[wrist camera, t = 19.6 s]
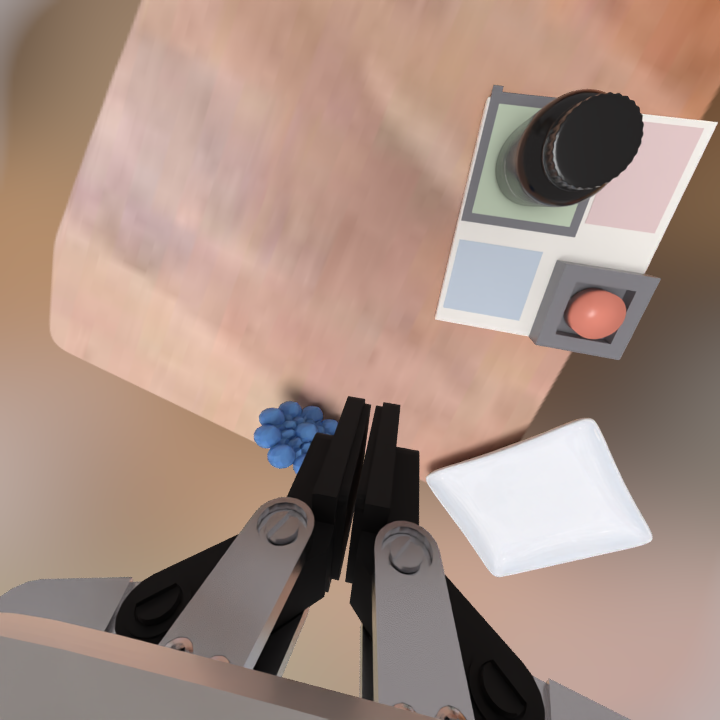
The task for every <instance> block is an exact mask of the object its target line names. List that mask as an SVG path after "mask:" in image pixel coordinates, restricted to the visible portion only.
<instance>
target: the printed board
mask: <svg viewBox="0 0 720 720" xmlns="http://www.w3.org/2000/svg"><path fill="white" fill-rule="evenodd" d="M503 87H504V86H498V85H494V86H493V90H492V94H491V97H488V99H487V100H486V102H485V107H484V111H483V115H482V119H481V123H480V128H479V132H478V136H477V140H476V145H475V149H474V153H473V157H472V161H471V166H470V170H469V174H468V178H467V182H466V187H465V191H464V195H463V199H462V204H461V208H460V212H459V216H458V220H457V225H456V229H455V233H454V237H453V241H452V246H451V250H450V254H449V258H448V263H447V267H446V271H445V275H444V279H443V284H442V288H441V292H440V296H439V300H438V305H437V309H436V313H435V319H436V320H441V321H447V322H452V323H458V324H463V325H469V326H474V327H480V328H485V329H491V330H496V331H502V332H507V333H513V334H518V335H524V336H529V334H530V331H531V329H532V326H533V323H534V320H535V318H536V315H537V312H538V310H539V307H540V304H541V301H542V299H543V296H544V293H545V291H546V288H547V285H548V283H549V280H550V277H551V274H552V272H553V269H554V266H555V264H556V261H557V260H560V261H567V262H573V263H580V264H586V265H592V266H599V267H605V268H611V269H618V270H624V271H630V272H637V273H643V274H645V271H646V270H647V267H648V265H649V263H650V261H651V259H652V257H653V255H654V253H655V251H656V249H657V247H658V245H659V243H660V240H661V239H662V236H663V234H664V232H665V230H666V228H667V226H668V224H669V222H670V220H671V218H672V216H673V214H674V212H675V210H676V207H677V206H678V203H679V201H680V199H681V197H682V195H683V193H684V191H685V189H686V187H687V185H688V183H689V181H690V179H691V177H692V175H693V172H694V170H695V168H696V166H697V164H698V162H699V160H700V158H701V156H702V154H703V152H704V150H705V148H706V146H707V144H708V141H709V139H710V137H711V135H712V133H713V131H714V129H715V127H716V125H717V122H710V121H701V120H692V119H683V118H674V117H665V116H656V115H647V114H642V115H643V119H642V121H643V123H644V127H643V132H644V135H643V137H642V139H641V141H642V144H641V145H640V147H639V148H638V153H637V154H636V155H635V156H634V158H633V161H632V163H630V164H629V165H628V166H627V168H626V170H625V171H623V172H621V173H620V175H619V176H618V177H616V178H613V179H612V180H611V181H610V182H609V183H608V184H607V185H606V186H605V187H604V188H603V189H602V190H601V191H599V192H598V193H597V194H595V195H594V196H592V197H591V198H589V199H587V200H585V201H583V202H580V203H578V204H575V205H571V206H565V207H531V206H522V205H518V204H516V203H513V202H512V201H510V200H509V199H507V198H506V197H505V196H504V195H503V193H502V192H501V190H500V189H499V186H498V184H497V180H496V162H497V158H498V155H499V152H500V150H501V148H502V146H503V144H504V142H505V141H506V140H507V138H508V137H509V136H510V135H511V133H512V132H513V131H514V130H516V129H517V128H518V127H519V126H520V125H521V124H523V123H524V122H525V121H526V120H528V119H529V118H530V117H531V116H533V115H534V114H535V113H537V112H538V111H539V110H540V109H542V108H543V107H544V106H546V105H547V104H548V103H550V102H551V101H553V100H554V99H556V98H553V97H544V96H535V95H525V94H516V93H507V92H502V91H503Z"/></svg>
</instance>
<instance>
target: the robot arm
mask: <svg viewBox="0 0 720 720" xmlns="http://www.w3.org/2000/svg"><path fill="white" fill-rule="evenodd" d="M370 409H371V405H370V404H365V399H362V398H356V397H350V396H348V398H347V401H346V403H345V406H344V409H343V412H342V414H341V417H340V420H339V422H338V425H337V428H336V431H335V433H334V435H329V434H324V433H318V432H317V433H316V434H315V436H314V438H313V440H312V442H311V444H310V447H309V449H308V451H307V453H306V455H305V458H304V460H303V462H302V464H301V467H300V469H299V471H298V473H297V476H296V478H295V480H294V482H293V484H292V487H291V489H290V491H289V493H288V496H287V497H281V498H277V499H273V500H270V501H268V502H266V503H265V504H263V505H262V506H261V507H260V508H259V509H258V510H257V511H256V512H255V513H254V514H253V516H252V517H251V518H250V520H249V521H248V522H247V524H246V525H245V527H244V528H243V529H242V531H241V532H240V533H239V534H238V535H236V536H234V537H232V538H229V539H227V540H225V541H223V542H221V543H219V544H217V545H215V546H213V547H210V548H208V549H206V550H204V551H202V552H200V553H198V554H196V555H194V556H192V557H189V558H187V559H185V560H183V561H181V562H179V563H177V564H174V565H172V566H170V567H168V568H166V569H164V570H162V571H160V572H158V573H155V574H153V575H152V576H150V577H149V578H147V579H145V580H144V581H142V582H133V579H132V577H118V578H117V577H116V578H71V579H40V580H35V581H30V582H26V583H24V584H22V585H19V586H17V587H15V588H12V589H11V590H9V591H8V592H6V593H5V594H3V595H2V596H0V720H630V719H628V718H626V717H624V716H622V715H620V714H618V713H616V712H614V711H612V710H610V709H608V708H607V707H605V706H603V705H600V704H599V703H597V702H595V701H593V700H590V699H589V698H587V697H585V696H582V695H581V694H579V693H577V692H575V691H573V690H571V689H568V688H567V687H565V686H563V685H561V684H559V683H557V682H555V681H553V680H551V679H548V680H547V682H546V683H545V682H544V681H541V680H539V679H538V678H536V677H534V676H532V675H531V673H530V672H529V671H528V669H527V668H526V666H525V665H524V664H523V663H522V661H521V660H520V659H519V658H518V657H517V656H516V655H515V653H514V652H513V651H512V650H511V649H510V648H509V647H508V645H507V644H506V643H505V642H504V641H503V640H502V639H501V638H500V636H499V635H498V634H497V633H496V632H495V631H494V630H493V629H492V627H491V626H490V625H489V624H488V623H487V622H486V621H485V619H484V618H483V617H482V616H481V615H480V614H479V613H478V612H477V610H476V609H475V608H474V607H473V606H472V605H471V604H470V602H469V601H468V600H467V599H466V598H465V597H464V596H463V595H462V593H461V592H460V591H459V590H458V589H457V588H456V587H455V586H454V584H453V583H452V582H451V581H450V580H449V579H448V578H447V576H446V575H445V574H444V569H443V565H442V560H441V555H440V551H439V548H438V545H437V543H436V541H435V540H434V538H433V537H432V536H431V535H430V533H429V532H427V531H426V530H425V529H424V528H423V527H421V526H419V451H417V450H411V449H406V448H400V447H396V444H397V434H398V424H399V414H400V405H397V404H391V403H385V402H384V403H383V407H382V406H376V408H375V413H374V418H373V422H372V427H371V431H370V436H369V441H368V445H367V450H366V454H365V447H366V440H367V432H368V424H369V417H370ZM364 455H365V459H364ZM363 463H364V464H363ZM353 513H354V516H353ZM352 518H353V524H352V532H351V540H350V548H349V556H348V564H347V572H346V580H345V582H348V583H352V590H351V597H350V604H351V606H352V607H353V609H354V611H355V612H356V614H357V615H358V617H359V619H360V621H361V626H360V696H359V697H355V696H351V695H347V694H343V693H340V692H336V691H332V690H328V689H324V688H321V687H317V686H313V685H309V684H306V683H302V682H298V681H294V680H290V679H286V678H283V677H282V675H283V673H284V670H285V668H286V666H287V663H288V661H289V658H290V656H291V654H292V651H293V649H294V646H295V644H296V641H297V639H298V637H299V634H300V632H301V629H302V627H303V625H304V622H305V620H306V617H307V615H308V612H309V608H310V606H311V605H313V604H314V603H316V602H317V601H318V600H320V599H322V598H323V597H324V595H325V592H328V591H329V587H330V583H331V579H335V580H339V577H340V574H341V568H342V564H343V560H344V555H345V550H346V546H347V541H348V537H349V532H350V527H351V523H352Z"/></svg>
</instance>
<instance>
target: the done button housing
mask: <svg viewBox="0 0 720 720" xmlns="http://www.w3.org/2000/svg"><path fill="white" fill-rule="evenodd" d="M660 279H661V278H657V277H654V276H651V275H647V274H643V273H637V272H630V271H624V270H618V269H611V268H605V267H599V266H592V265H586V264H580V263H573V262H567V261H560V260H557V261H556V264H555V266H554V269H553V272H552V274H551V277H550V280H549V283H548V285H547V288H546V291H545V293H544V296H543V299H542V301H541V304H540V307H539V310H538V312H537V315H536V318H535V320H534V323H533V326H532V329H531V331H530V334H529V337H530V339H531V340H532V341H533V342H534V344H535V345H540V346H545V347H551V348H556V349H562V350H567V351H573V352H578V353H584V354H589V355H595V356H600V357H606V358H611V359H616V360H620V358H621V356H622V354H623V352H624V350H625V348H626V346H627V344H628V342H629V341H630V339H631V337H632V335H633V332H634V331H635V329H636V327H637V325H638V323H639V321H640V319H641V317H642V315H643V313H644V311H645V309H646V307H647V305H648V303H649V301H650V299H651V297H652V295H653V293H654V291H655V289H656V287H657V285H658V283H659V281H660ZM589 288H600V289H603V290H606V291H608V292H610V293H612V294H615V295H617V296H618V297H620V298H621V299H622V300H623V302H624V304H625V306H626V316H625V319H624V321H623V323H622V325H621V326H620V327H619V328H618V329H617V330H616V331H615V332H614V333H612V334H610V335H609V336H606V337H603V338H599V339H588V338H584V337H582V336H580V335H579V334H578V333H576V332H575V331H574V330H573V329H571V328H570V327H569V326H568V325H567V323H566V322H565V319H564V311H565V309H566V306H567V304H568V301H569V300H570V299H571V298H572V297H573V296H574V295H575V294H577V293H578V292H580V291H582V290H585V289H589Z"/></svg>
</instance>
